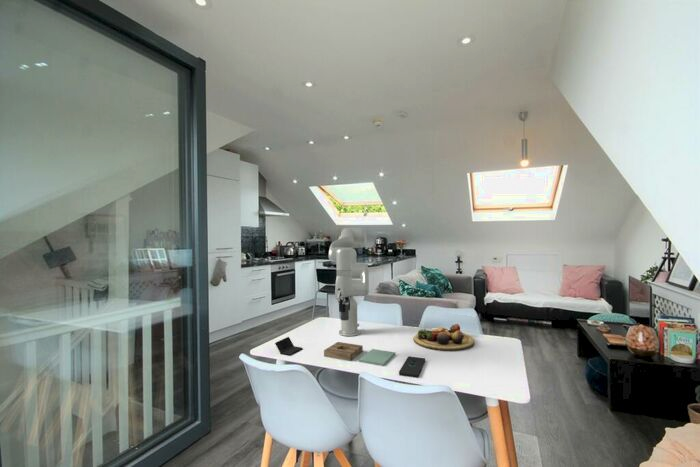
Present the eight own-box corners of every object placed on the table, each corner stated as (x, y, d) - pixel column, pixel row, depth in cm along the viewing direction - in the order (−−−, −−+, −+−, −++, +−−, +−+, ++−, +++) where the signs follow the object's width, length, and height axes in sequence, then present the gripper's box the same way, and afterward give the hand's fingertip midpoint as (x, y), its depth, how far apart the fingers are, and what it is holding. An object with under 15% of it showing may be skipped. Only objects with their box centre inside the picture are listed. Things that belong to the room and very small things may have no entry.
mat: (372, 350, 165) (372, 348, 165) (395, 354, 160) (395, 352, 160) (358, 361, 151) (358, 359, 151) (383, 366, 146) (383, 363, 146)
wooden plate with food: (445, 330, 200) (445, 317, 201) (488, 345, 172) (487, 329, 172) (402, 339, 187) (401, 324, 187) (440, 356, 158) (439, 339, 158)
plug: (343, 318, 164) (342, 299, 164) (350, 318, 162) (350, 300, 162) (339, 319, 161) (338, 301, 161) (346, 320, 159) (346, 302, 159)
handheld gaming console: (293, 353, 159) (283, 335, 162) (282, 361, 160) (272, 343, 163) (304, 348, 170) (294, 332, 173) (293, 356, 171) (284, 340, 174)
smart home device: (425, 357, 152) (418, 375, 133) (425, 361, 152) (418, 379, 133) (407, 355, 155) (398, 372, 136) (407, 359, 155) (398, 376, 136)
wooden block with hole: (338, 347, 171) (338, 341, 171) (362, 351, 165) (362, 345, 165) (324, 356, 158) (324, 350, 158) (350, 361, 152) (350, 354, 152)
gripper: (345, 271, 171) (345, 306, 171) (328, 275, 156) (329, 313, 156) (358, 272, 167) (358, 308, 167) (342, 275, 153) (343, 315, 152)
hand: (344, 310), depth 161 cm, fingers closed on plug, 4 cm apart
